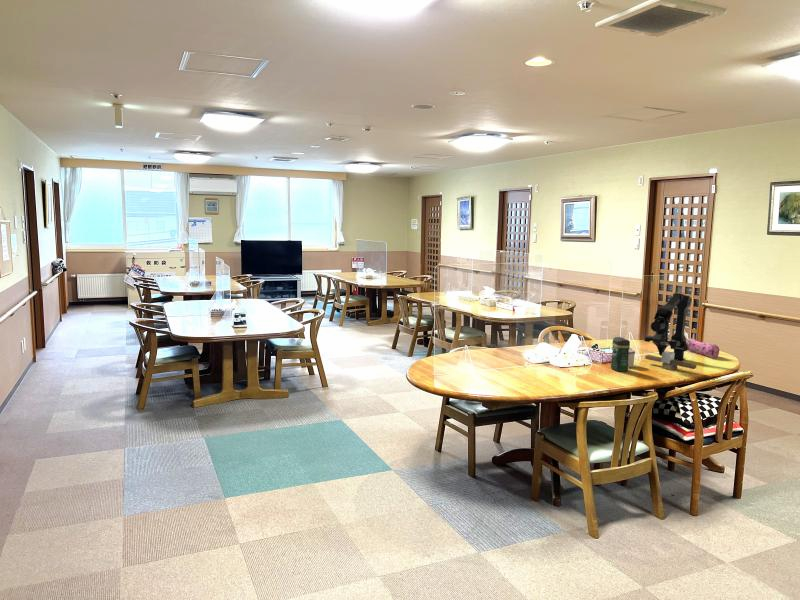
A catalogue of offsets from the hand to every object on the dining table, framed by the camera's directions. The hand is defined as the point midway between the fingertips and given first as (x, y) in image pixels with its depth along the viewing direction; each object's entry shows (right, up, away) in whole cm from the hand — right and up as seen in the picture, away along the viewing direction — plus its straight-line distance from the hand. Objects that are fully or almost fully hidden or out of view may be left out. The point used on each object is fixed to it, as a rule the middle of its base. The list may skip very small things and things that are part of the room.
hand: (660, 355), depth 343 cm
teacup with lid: (-21, -6, +2) cm, 22 cm away
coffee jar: (-27, -8, -8) cm, 29 cm away
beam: (+4, -7, -3) cm, 9 cm away
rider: (+3, -4, -3) cm, 5 cm away
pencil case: (+40, -3, +31) cm, 50 cm away
